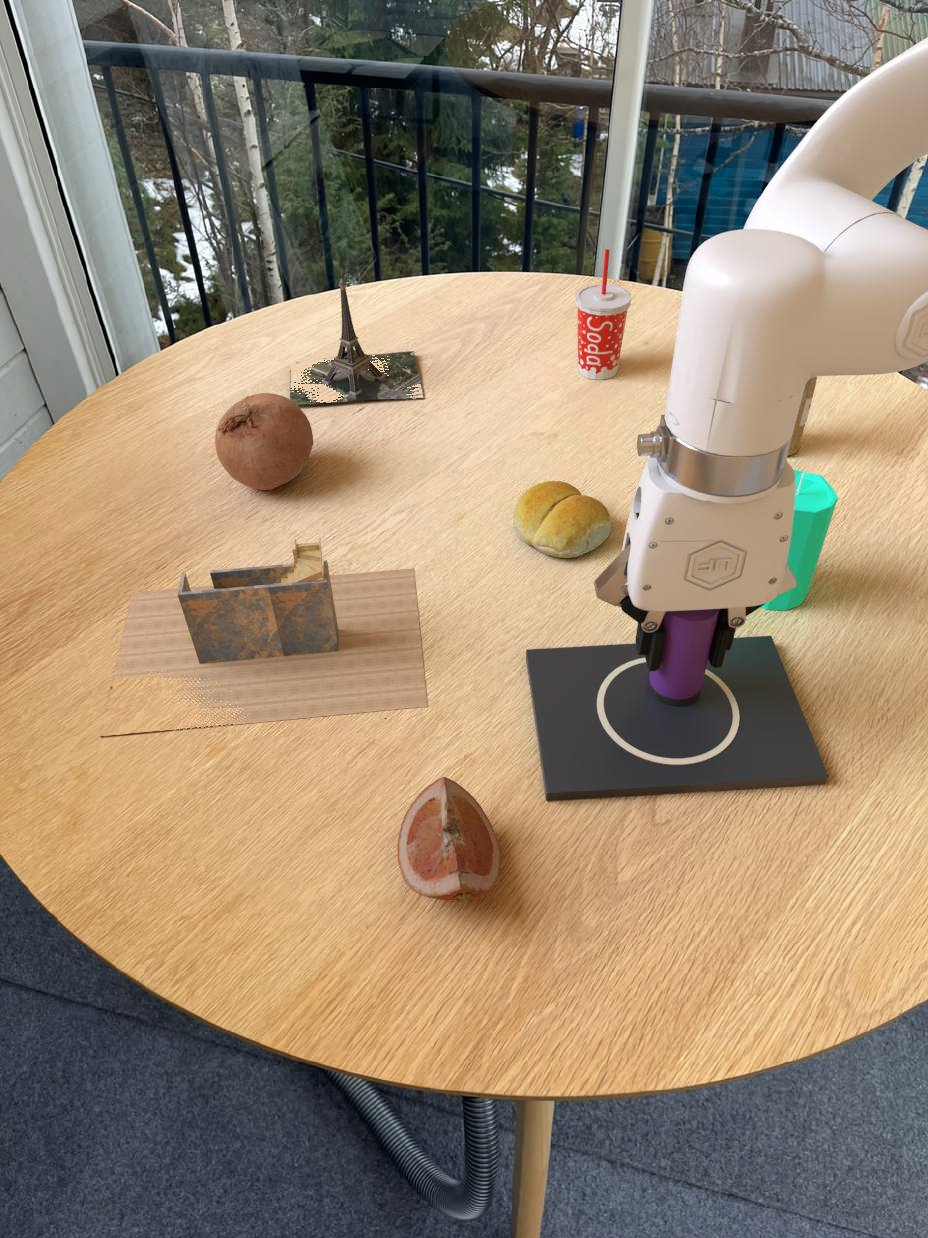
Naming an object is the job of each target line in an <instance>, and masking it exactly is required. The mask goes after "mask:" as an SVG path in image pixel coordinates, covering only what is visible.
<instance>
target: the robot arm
mask: <svg viewBox="0 0 928 1238" xmlns="http://www.w3.org/2000/svg"><path fill="white" fill-rule="evenodd" d="M927 155H928V36H926V38H924V39H922V40H921V41H918V43H916V44H914V45H913V46H911V47H910V48H908V49H906V50H904V51H903V52H902V53H900V54H898V55H897V56H896V57H895V56H894V58H892V59H891V60H889V61H887V62H886V63H884V64H883V65H881V66H879V67H878V68H876V69H875V70H873V71H872V72H871V73H868V75H866V76H864V77H863V78H862V79H860V80H859V81H858V82H857V83H855V84H854V85H853V86H852V87H851V88H849V89H848V90H847V91H846V92H844V93H843V94H842V95H841V96H840V97H839V98H838V99H837V100H836V101H835V102H834V103H833V104H832V105H830V106H829V107H828V108H827V110H825V112H823V114H822V115H821V116H820V117H819V118H818V119H817V121H816V122H815V123H814V124H813V126H811V128H810V129H809V130H808V132H807V133H806V134H805V136H804V137H803V138H802V139H801V141H800V142H799V143H798V145H797V146H796V147H795V148H794V149H793V151H792V152H791V153H790V155H789V156H788V157H787V158H786V160H785V161H784V162H783V164H782V165H781V166H780V167H779V168H778V170H777V171H776V173H775V174H774V175H773V177H772V178H771V179H770V180H769V182H768V184H767V186H766V187H765V188H764V190H763V191H762V193H761V195H760V196H759V197H758V199H757V200H756V202H755V204H754V206H753V208H752V210H751V212H750V213H749V215H748V217H747V219H746V221H745V224H744V226H743V228H742V229H741V228H740V229H734V230H728V231H724V232H720V233H719V234H716V235H713V236H712V237H710V238H708V239H707V240H704V242H703V243H701V244H700V245H699V246H698V247H697V248H696V249H695V251H693V254H692V255H691V257H690V258H689V261H688V264H687V266H686V271H685V275H684V281H683V286H682V293H681V300H680V307H679V314H678V321H677V327H676V335H675V341H674V348H673V354H672V355H673V356H672V362H671V369H670V375H669V382H668V388H667V397H666V403H665V411H664V413H663V414H661V415H660V419H659V425H658V426H657V427H656V430H655V431H650V432H649V433H639V434H637V439H636V450H637V455H638V457H648V458H647V461H646V463H645V464H644V465H645V466H644V468H643V470H642V472H641V475H640V478H639V480H638V483H637V486H636V488H635V492H634V495H633V498H632V502H631V504H630V505H631V506H630V509H629V513H628V518H627V523H626V526H625V532H624V536H623V542H622V546H621V547H622V549H621V552H620V553H619V554H618V555H617V556H616V557H615V558H614V559H613V560H612V562H611V563H610V564H609V565H608V566H607V567H605V569H604V570H603V572H602V573H600V575H599V576H597V578H596V579H595V580H594V582H593V587H594V590H595V595H596V598H597V599H599V600H600V601H603V602H605V603H608V604H609V605H612V606H613V607H619V608H621V611H622V612H623V613H624V614H626V615H627V616H628V617H630V618H631V619H632V620H634V621H635V622H636V623H637V628H636V633H635V643H636V649H637V653H638V655H645V659H646V663H647V666H648V670H649V671H657V669H659V667H660V661H661V656H662V651H663V645H664V640H665V631H664V628H663V625H662V620H663V617H664V615H665V613H666V611H684V610H705V609H720V610H719V615H718V619H717V623H716V627H715V632H714V636H713V640H712V645H711V649H710V653H709V657H708V659H709V662H710V665H711V666H713V667H714V668H718V667H722V664H723V660H724V656H725V652H726V650H730V649H731V646H732V642H733V638H735V634H736V630H737V629H738V628H741V627H743V626H744V625H745V624H746V621H747V619H746V617H748V616H749V615H751V614H752V613H754V612H755V611H757V610H758V609H760V608H762V607H761V606H763V605H764V604H766V603H767V602H770V601H771V600H773V599H774V598H775V597H776V596H778V595H780V594H782V593H784V592H787V591H789V590H791V589H793V588H794V587H796V585H797V580H796V578H795V576H794V574H793V572H792V569H791V568H790V566H789V564H788V563H787V559H788V554H789V548H790V542H791V535H792V527H793V518H794V508H795V487H796V481H795V472H794V470H795V469H793V467H792V466H791V464H790V463H789V461H788V460H787V458H788V456H789V455H788V451H789V447H790V443H791V439H792V436H793V431H794V427H795V423H796V419H797V415H798V412H799V408H800V404H801V400H802V396H803V392H804V389H805V385H806V383H807V381H808V380H809V379H811V378H813V377H816V376H817V377H833V376H834V377H835V376H836V377H838V376H871V375H872V376H873V375H874V376H875V375H884V374H885V375H886V374H892V373H897V372H903V371H907V370H909V369H912V368H915V367H918V366H920V365H923V364H925V363H927V362H928V228H925V227H923V226H920V225H918V224H916V223H914V222H912V221H910V220H908V219H906V218H904V217H903V216H902V215H900V214H899V213H897V212H896V211H893V210H891V209H889V208H887V207H886V206H883V205H881V204H879V203H877V202H875V201H873V200H874V199H875V198H876V197H877V195H878V194H879V193H880V192H881V191H882V190H883V189H884V188H885V187H886V186H887V185H888V184H889V183H890V182H891V181H892V180H893V179H894V178H895V177H897V175H899V174H900V173H901V172H902V171H904V170H906V168H908V167H909V166H911V165H912V164H913V163H916V161H918V160H920V159H921V158H922V157H924V156H927ZM787 455H788V456H787Z"/></svg>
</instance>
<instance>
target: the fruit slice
mask: <svg viewBox="0 0 928 1238" xmlns="http://www.w3.org/2000/svg"><path fill="white" fill-rule="evenodd" d="M413 800H414V801H412V802H411V804H410V805H409V807H408V809H407V811H406V813H405V815H404V817H403V819H402V822H401V825H400V829H399V833H398V839H397V847H396V848H397V862H398V866H399V870H400V873H401V875H402V877H403V878H402V879H403V881H404V882H405V883H406V885H407V886H408V887H409V889H411V890H412V891H413V892H415V893H416V894H418V895H420V896H423V897H427V898H428V899H429V898H430V899H435V900H439V901H441V900H442V901H448V902H454V901H456V902H457V901H458V902H465V903H468V902H469V901H471V900H477V899H478V900H479V899H482V898H485V897H486V896H488V895H489V894H490V893H491V892H492V891H493V890H494V889H495V887H496V885H497V883H498V882H499V878H500V875H501V864H502V859H501V858H502V857H501V851H500V850H501V849H500V844H499V841H498V837H497V834H496V831H495V829H494V827H493V825H492V823H491V821H490V819H489V817H488V816H487V814H486V813H485V811H484V809H483V808H482V806H481V805H480V803H479V802H478V801H477V799H476V798H475V797H474V796H473V795H472V794H471V793H470V792H469V791H468V790H466V789H465V788H464V787H463V786H461V785H460V784H459V783H458V782H456V781H454V780H452V779H450V778H449V777H445V776H442V777H439V778H438V779H436V780H435V781H434V782H432V783H430V784H429V785H427V786H426V787H425V788H424V789H423V790H422V791H421V792H419V794H418V795H417V796H416V797H415V799H413Z"/></svg>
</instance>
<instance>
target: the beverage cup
mask: <svg viewBox="0 0 928 1238" xmlns="http://www.w3.org/2000/svg"><path fill="white" fill-rule="evenodd" d="M609 261H610V249H608V248H606V249H605V250H604V259H603V269H602V270H603V271H602V283H593V284H588V285H584V286H582V287H581V288H579V289H578V290H577V291H576V292H575V301H574V302H575V307H577V373H578V374H579V375H580V376H582V377H583V378H587V379H589V380H594V381H603V380H608V379H612V377H614V376H616V374H617V372H618V370H619V363H620V358H621V351H622V346H623V339H624V334H625V327H626V323H627V322H626V321H627V317H628V309H629V308H630V307H631V305H632V304H631V303H632V299H633V297H632V293H631V292H630V291H629V290H628V289H627V288H626V287H622V286H620V285H618V284H612V283H608V275H609V274H608V273H609Z"/></svg>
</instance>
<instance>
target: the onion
mask: <svg viewBox="0 0 928 1238" xmlns="http://www.w3.org/2000/svg"><path fill="white" fill-rule="evenodd" d="M312 429H313V428H312V425H311V423H310V421H309V419H308V417H307V414H306V413H304V411H303V410H302V409H301V407H300V406H298V404H295V403H294V402H293V401H291V400H290V398H288V397H286V396H284V395H281V394H277V393H271V392H260V393H256V394H255V393H254V394H252V395H246V396H245V397H244V398H242V399H240V400H238V401H237V402H236V403H234V404H233V405H232V406H230V407H229V408H228V409H227V410H226V411H225V413H224V414H222V417H221V418H220V420H219V422H218V425H217V427H216V429H215V434H214V435H215V436H214V445H215V451H216V455H217V459H218V461H219V462H220V465H221V466H222V467H223V469H224V470H225V471H226V473H228V474H229V476H230V477H232V478H233V480H235V481H236V482H238V483H239V484H242V485H243V486H246V487H249V488H252V489H255V490H260V491H266V490H267V491H268V490H274V489H275V488H278V487H281V486H283V485H285V484H287V483H288V482H290V481H291V480H293V479H294V478H295V477H297V476H298V475H299V474H300V473H301V472H302V471H303V469H305V466H306V464H307V463H308V461H309V459H310V456H311V453H312V449H313V446H314V434H313V430H312Z"/></svg>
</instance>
